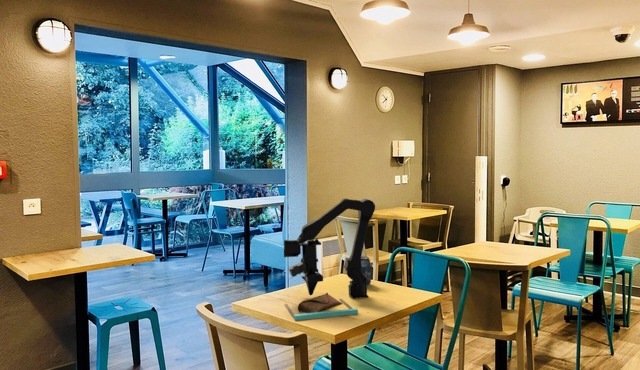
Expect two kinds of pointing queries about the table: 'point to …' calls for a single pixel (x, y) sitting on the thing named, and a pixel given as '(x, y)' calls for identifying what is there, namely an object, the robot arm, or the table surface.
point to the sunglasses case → (318, 304)
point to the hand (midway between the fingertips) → (310, 295)
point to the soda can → (366, 269)
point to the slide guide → (324, 313)
